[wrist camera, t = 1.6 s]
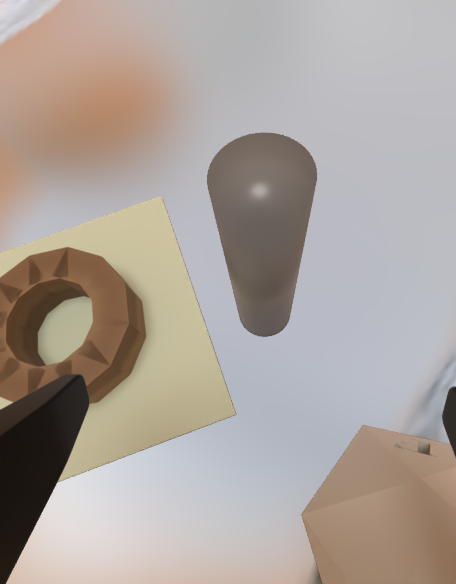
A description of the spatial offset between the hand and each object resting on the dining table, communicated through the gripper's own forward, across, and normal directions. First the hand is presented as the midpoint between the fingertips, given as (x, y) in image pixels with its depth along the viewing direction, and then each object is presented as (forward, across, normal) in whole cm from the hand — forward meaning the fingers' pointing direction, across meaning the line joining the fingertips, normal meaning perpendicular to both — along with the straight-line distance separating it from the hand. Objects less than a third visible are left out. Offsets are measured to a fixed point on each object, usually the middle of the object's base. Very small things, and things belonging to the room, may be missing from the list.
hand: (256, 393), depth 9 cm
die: (+5, -6, +12) cm, 15 cm away
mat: (+12, +12, +6) cm, 18 cm away
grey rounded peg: (+13, 0, +4) cm, 14 cm away
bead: (+12, +12, +5) cm, 17 cm away
